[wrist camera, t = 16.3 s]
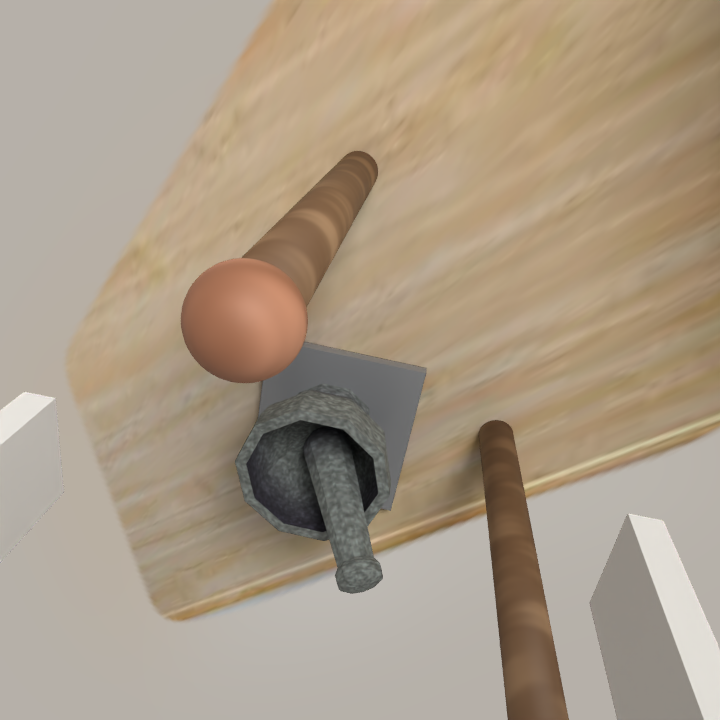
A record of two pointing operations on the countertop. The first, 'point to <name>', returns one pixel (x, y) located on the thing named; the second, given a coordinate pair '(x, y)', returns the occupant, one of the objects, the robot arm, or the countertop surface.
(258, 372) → the post
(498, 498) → the post
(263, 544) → the countertop surface
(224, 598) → the countertop surface
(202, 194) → the countertop surface
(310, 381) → the slate pad
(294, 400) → the mortar and pestle
